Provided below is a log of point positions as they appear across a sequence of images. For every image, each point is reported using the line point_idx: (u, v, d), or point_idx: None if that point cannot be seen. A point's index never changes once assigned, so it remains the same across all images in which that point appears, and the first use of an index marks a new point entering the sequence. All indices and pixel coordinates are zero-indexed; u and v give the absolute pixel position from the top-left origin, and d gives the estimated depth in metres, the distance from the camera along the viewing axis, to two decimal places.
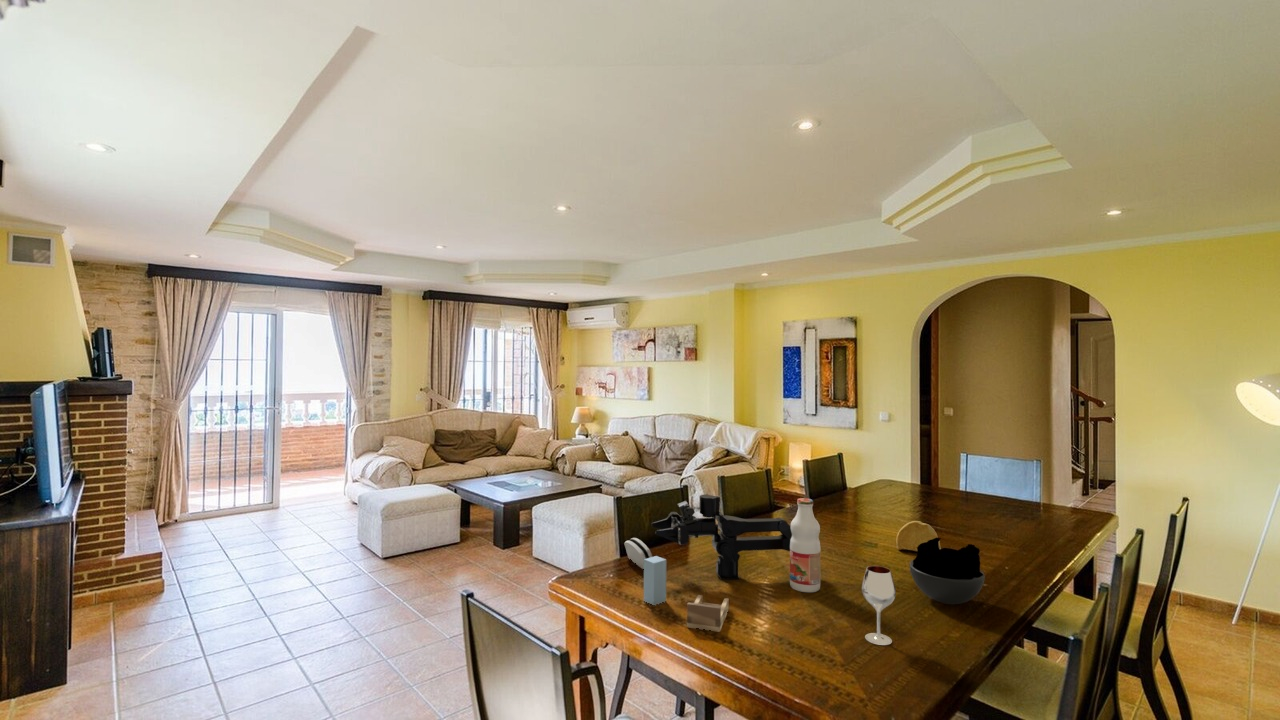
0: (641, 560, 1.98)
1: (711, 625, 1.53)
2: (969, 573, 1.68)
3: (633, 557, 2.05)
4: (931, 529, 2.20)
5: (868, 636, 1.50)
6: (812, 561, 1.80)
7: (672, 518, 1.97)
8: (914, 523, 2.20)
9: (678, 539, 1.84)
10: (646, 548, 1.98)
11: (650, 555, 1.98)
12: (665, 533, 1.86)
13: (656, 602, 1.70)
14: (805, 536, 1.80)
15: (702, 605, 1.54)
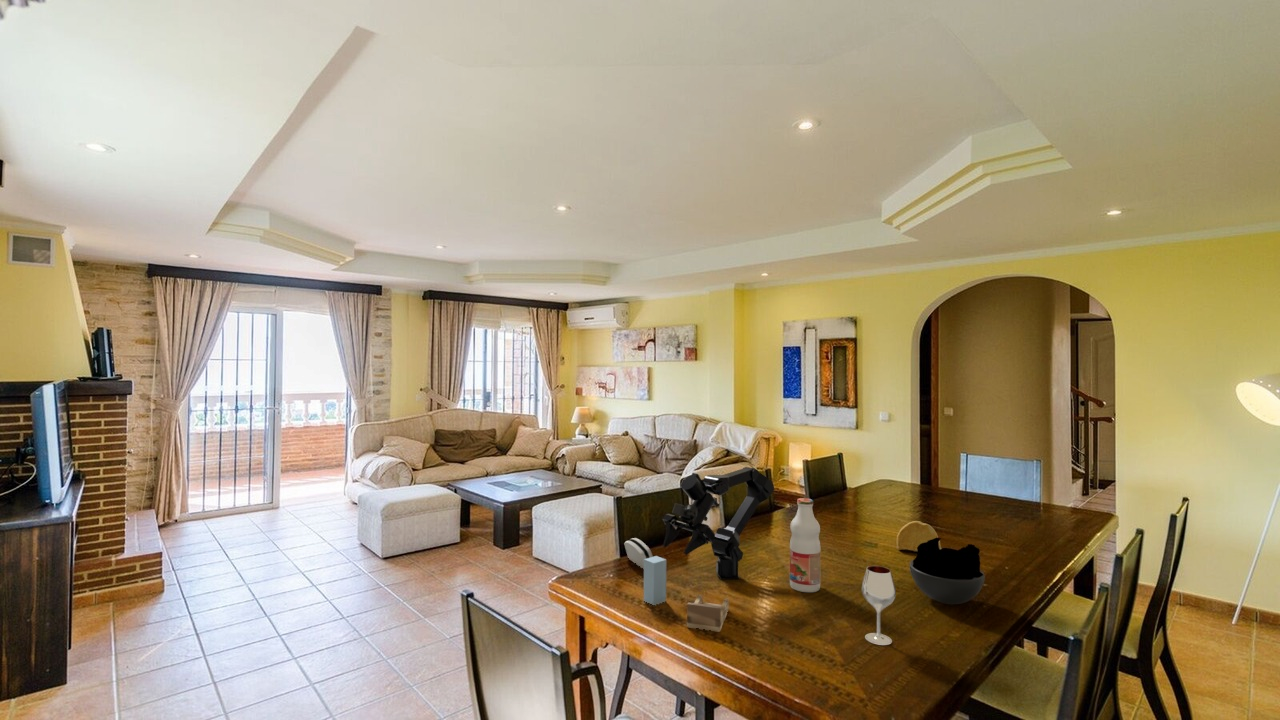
0: (642, 560, 1.98)
1: (711, 625, 1.53)
2: (969, 573, 1.68)
3: (633, 557, 2.05)
4: (931, 529, 2.20)
5: (868, 636, 1.50)
6: (812, 561, 1.80)
7: (671, 523, 1.85)
8: (914, 523, 2.20)
9: (706, 540, 1.75)
10: (647, 548, 1.98)
11: (651, 555, 1.98)
12: (692, 546, 1.75)
13: (656, 602, 1.70)
14: (805, 536, 1.80)
15: (702, 605, 1.54)
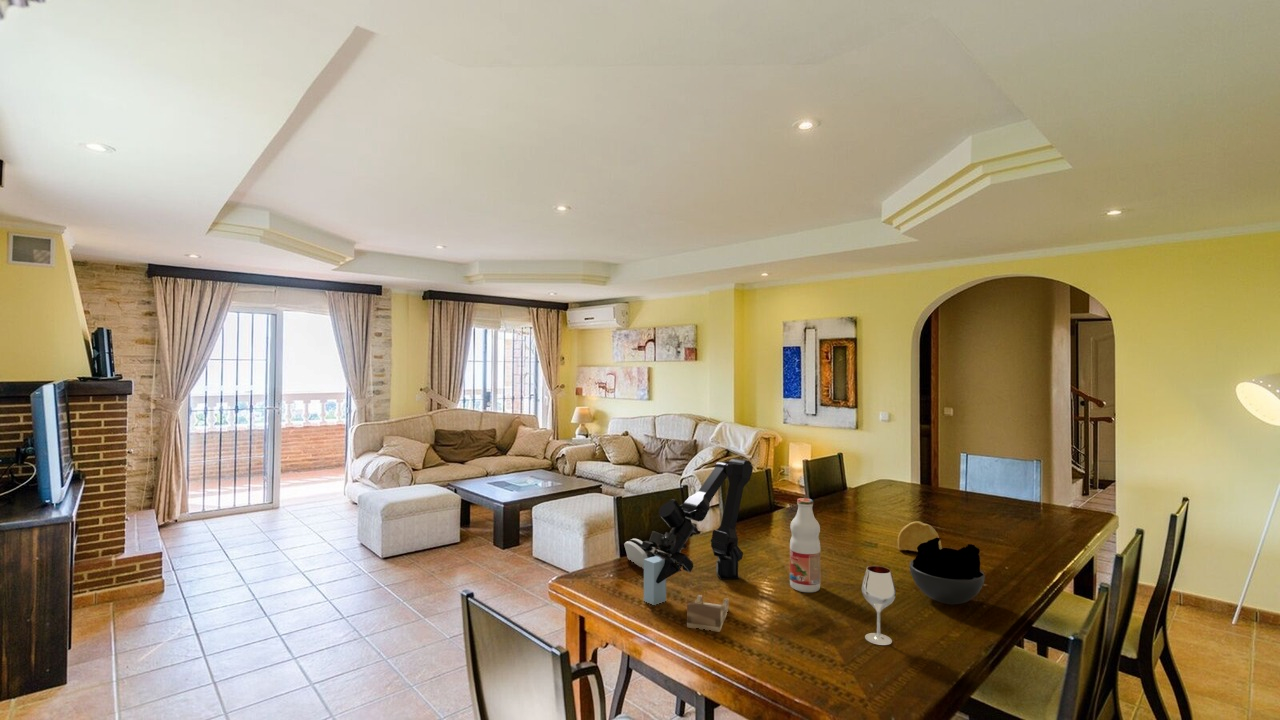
0: (643, 561, 1.97)
1: (711, 625, 1.53)
2: (969, 573, 1.68)
3: (634, 558, 2.04)
4: (932, 529, 2.20)
5: (868, 636, 1.50)
6: (812, 561, 1.80)
7: (654, 553, 1.77)
8: (915, 524, 2.19)
9: (679, 568, 1.71)
10: None
11: None
12: (665, 574, 1.70)
13: (656, 602, 1.70)
14: (805, 536, 1.80)
15: (702, 605, 1.54)
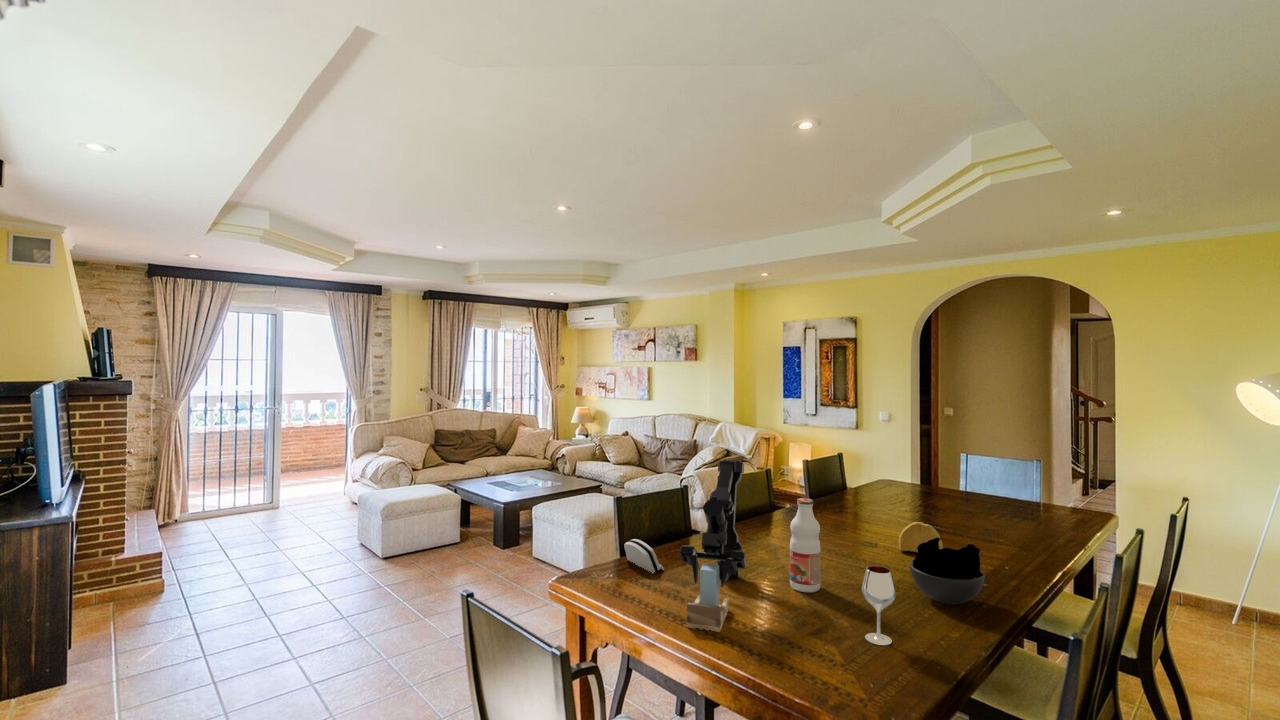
0: (645, 561, 1.97)
1: (711, 625, 1.53)
2: (969, 573, 1.68)
3: (634, 558, 2.04)
4: (933, 530, 2.19)
5: (868, 636, 1.50)
6: (812, 561, 1.80)
7: (695, 555, 1.66)
8: (917, 524, 2.18)
9: (737, 567, 1.64)
10: (650, 549, 1.98)
11: (654, 556, 1.97)
12: (727, 576, 1.62)
13: None
14: (805, 536, 1.80)
15: (702, 605, 1.54)
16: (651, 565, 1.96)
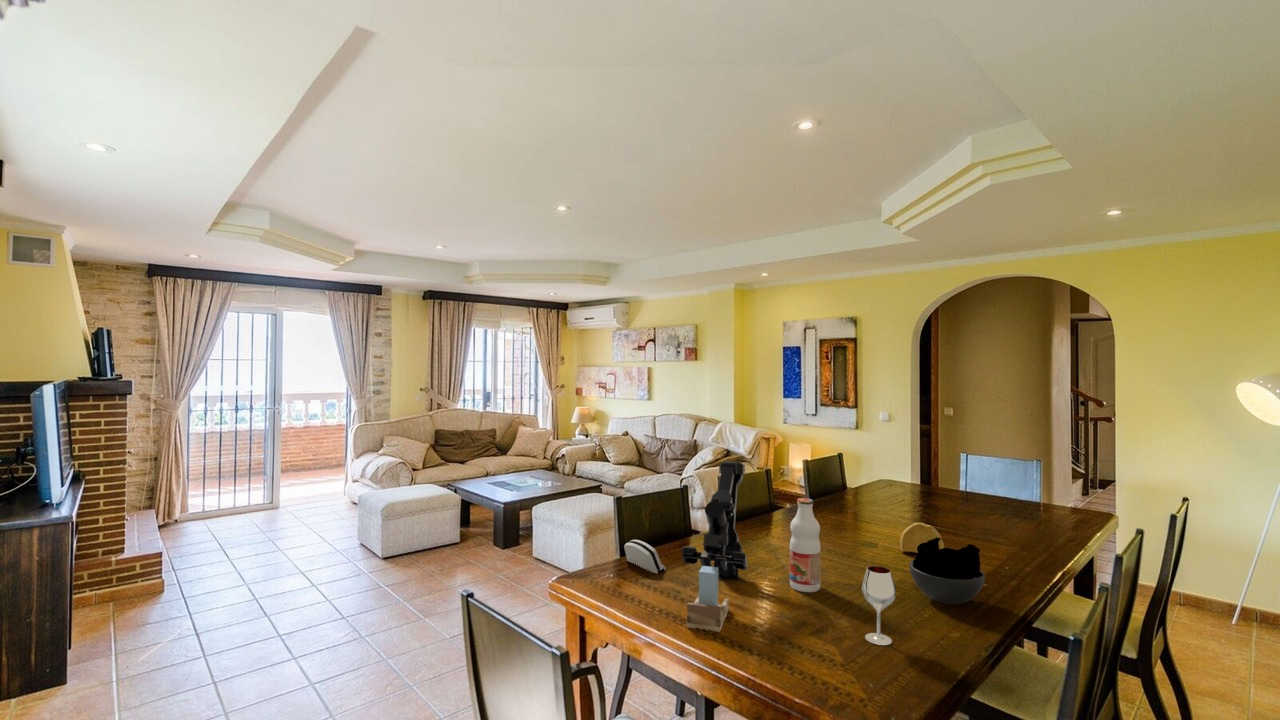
0: (648, 562, 1.96)
1: (711, 625, 1.53)
2: (969, 573, 1.68)
3: (635, 559, 2.03)
4: (934, 531, 2.18)
5: (868, 636, 1.50)
6: (812, 561, 1.80)
7: None
8: (918, 525, 2.17)
9: (726, 566, 1.68)
10: (652, 549, 1.97)
11: (657, 556, 1.97)
12: None
13: None
14: (805, 536, 1.80)
15: (702, 605, 1.54)
16: (654, 565, 1.96)
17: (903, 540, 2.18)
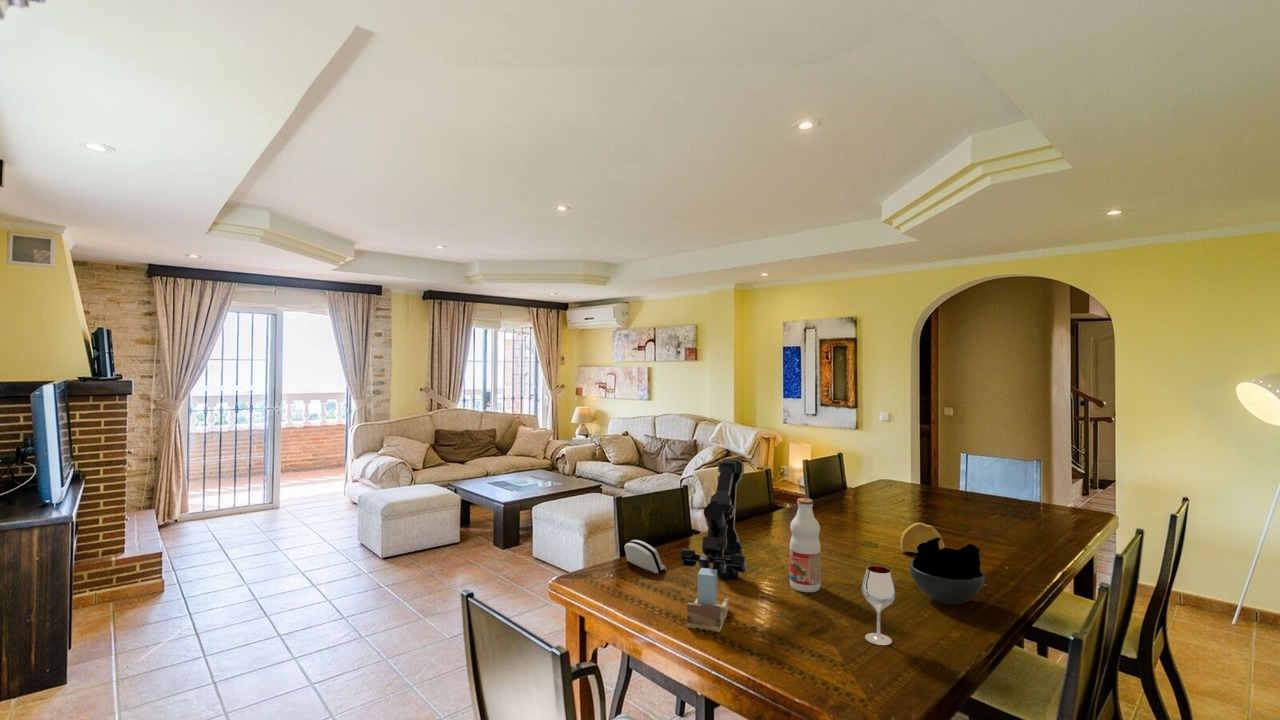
0: (648, 562, 1.96)
1: (711, 625, 1.53)
2: (969, 573, 1.68)
3: (636, 559, 2.03)
4: (935, 531, 2.18)
5: (868, 636, 1.50)
6: (812, 561, 1.80)
7: (707, 560, 1.66)
8: (919, 525, 2.17)
9: (725, 569, 1.66)
10: (653, 549, 1.97)
11: (657, 556, 1.97)
12: None
13: None
14: (805, 536, 1.80)
15: (702, 605, 1.54)
16: (654, 565, 1.95)
17: (903, 540, 2.17)
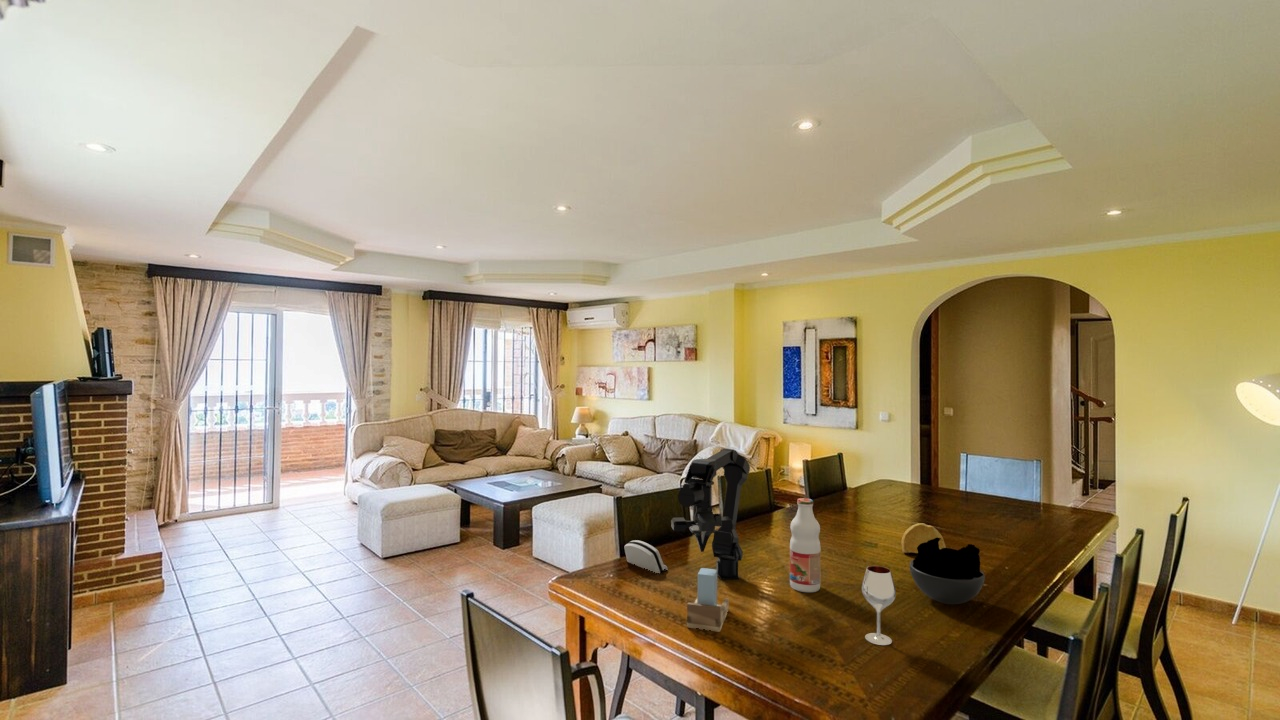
0: (650, 562, 1.96)
1: (711, 625, 1.53)
2: (969, 573, 1.68)
3: (636, 560, 2.02)
4: (936, 531, 2.18)
5: (868, 636, 1.50)
6: (812, 561, 1.80)
7: None
8: (920, 526, 2.17)
9: None
10: (655, 549, 1.97)
11: (659, 556, 1.97)
12: None
13: None
14: (805, 536, 1.80)
15: (702, 605, 1.54)
16: (656, 566, 1.95)
17: (905, 541, 2.17)
